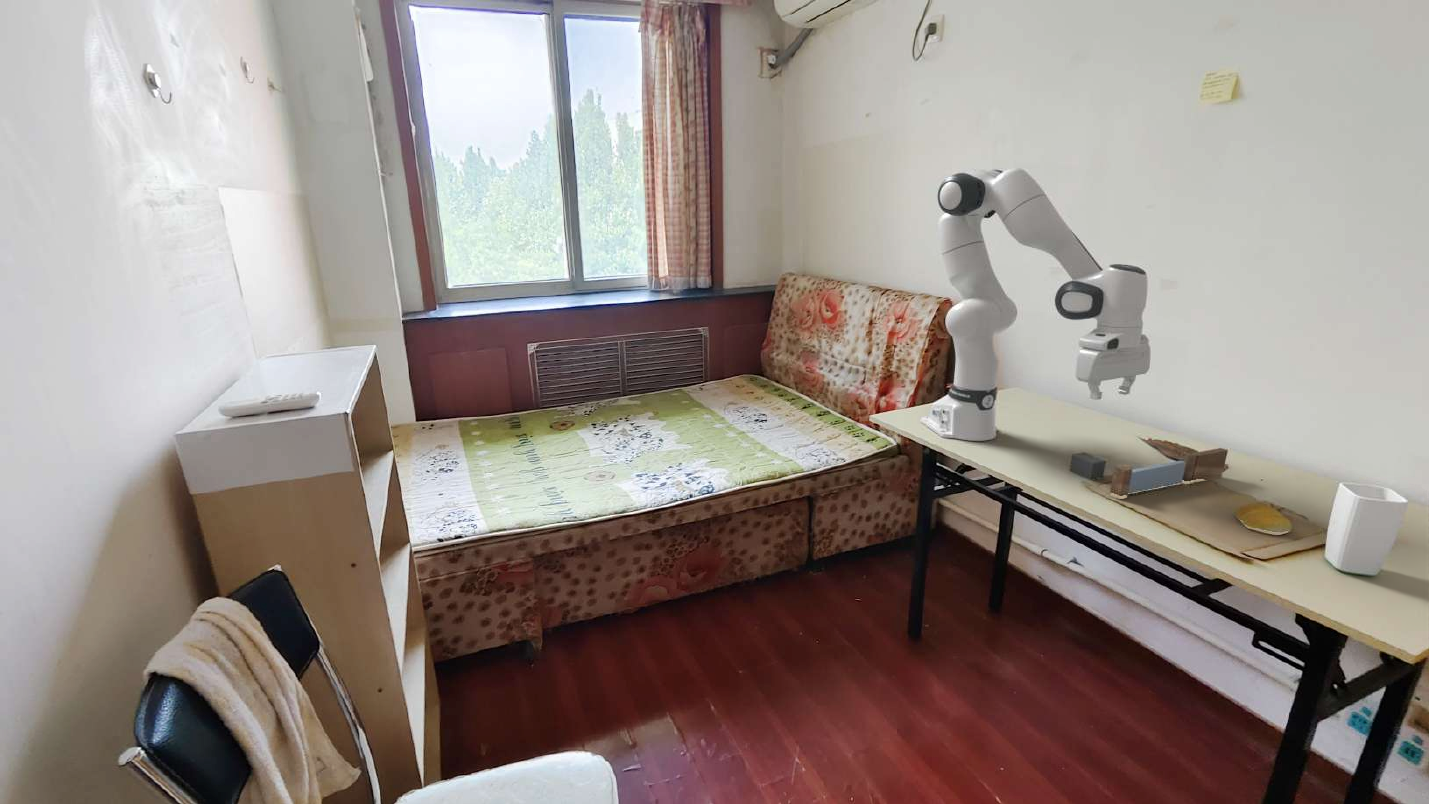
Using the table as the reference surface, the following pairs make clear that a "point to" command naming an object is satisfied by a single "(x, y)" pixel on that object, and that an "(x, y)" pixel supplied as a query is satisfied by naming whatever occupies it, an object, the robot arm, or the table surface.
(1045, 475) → the table surface
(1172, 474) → the gate
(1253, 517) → the bread roll
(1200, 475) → the block
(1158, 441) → the wooden fragment
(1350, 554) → the cup
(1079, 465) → the block
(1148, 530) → the table surface
